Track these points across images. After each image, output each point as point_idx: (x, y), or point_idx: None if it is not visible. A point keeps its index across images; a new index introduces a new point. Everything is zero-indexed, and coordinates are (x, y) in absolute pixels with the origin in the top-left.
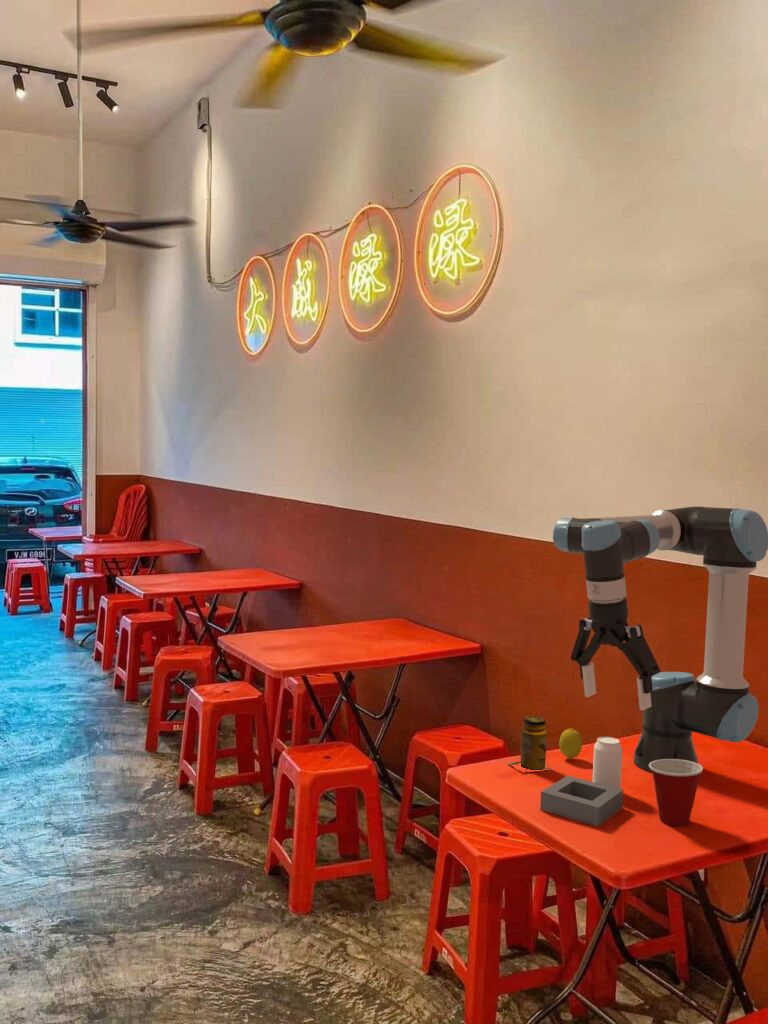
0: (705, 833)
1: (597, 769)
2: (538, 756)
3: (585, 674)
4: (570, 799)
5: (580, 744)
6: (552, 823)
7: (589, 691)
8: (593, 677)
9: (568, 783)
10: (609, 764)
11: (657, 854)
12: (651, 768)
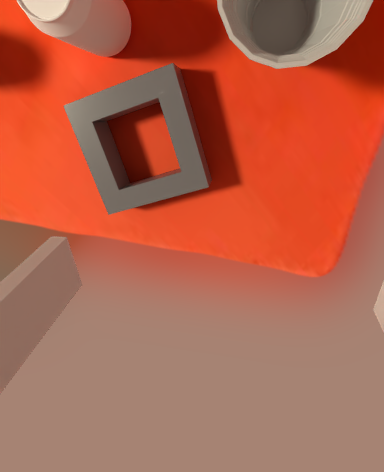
0: None
1: (85, 48)
2: None
3: (12, 377)
4: (157, 199)
5: None
6: (166, 227)
7: (66, 287)
8: (14, 301)
9: (98, 141)
10: (100, 30)
11: (334, 184)
12: (254, 60)
